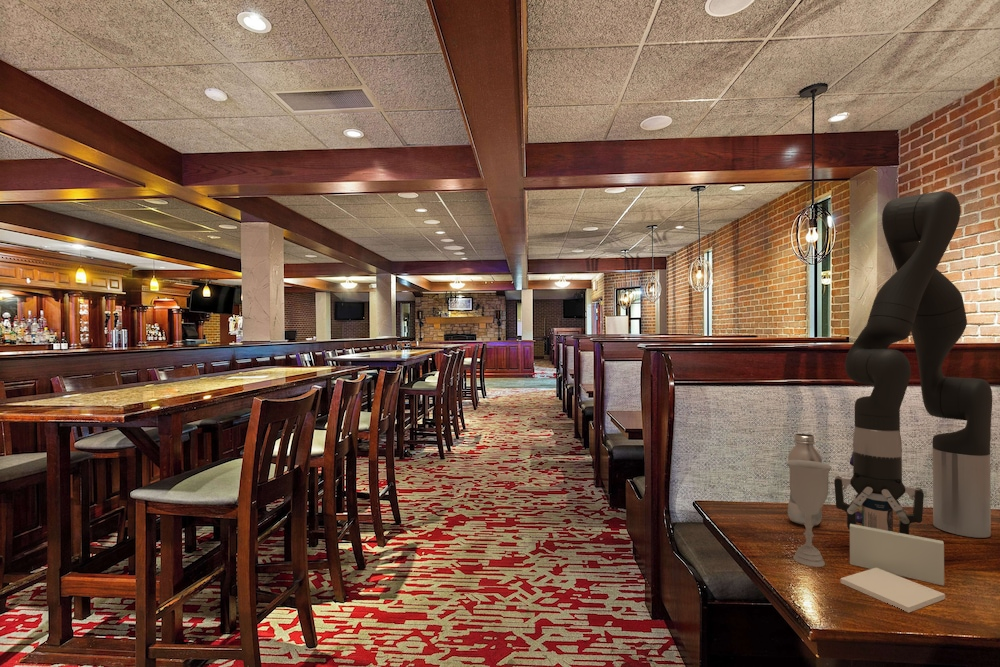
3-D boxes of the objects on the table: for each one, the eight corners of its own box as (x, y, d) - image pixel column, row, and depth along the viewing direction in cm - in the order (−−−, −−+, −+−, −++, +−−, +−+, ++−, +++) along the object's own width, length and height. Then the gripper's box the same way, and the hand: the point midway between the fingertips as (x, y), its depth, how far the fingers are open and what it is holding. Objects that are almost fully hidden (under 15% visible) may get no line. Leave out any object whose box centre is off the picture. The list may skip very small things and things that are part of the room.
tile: (876, 572, 88) (876, 567, 88) (945, 599, 79) (945, 593, 79) (840, 582, 84) (840, 578, 84) (908, 612, 75) (908, 607, 75)
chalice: (790, 565, 91) (790, 466, 91) (783, 550, 97) (782, 458, 97) (837, 571, 88) (836, 470, 89) (826, 556, 95) (826, 461, 95)
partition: (849, 564, 91) (849, 526, 91) (850, 561, 93) (850, 523, 93) (944, 585, 83) (943, 544, 83) (943, 582, 85) (943, 541, 85)
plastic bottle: (782, 518, 115) (782, 431, 115) (813, 519, 114) (813, 432, 114) (794, 528, 108) (794, 437, 109) (828, 530, 108) (827, 438, 108)
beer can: (898, 560, 93) (898, 496, 93) (870, 558, 94) (869, 494, 94) (884, 549, 98) (884, 488, 98) (857, 547, 99) (857, 487, 99)
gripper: (831, 449, 97) (831, 534, 97) (927, 460, 89) (927, 553, 88) (833, 443, 103) (834, 523, 103) (924, 453, 95) (924, 540, 94)
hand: (877, 536), depth 96 cm, fingers open, 7 cm apart
